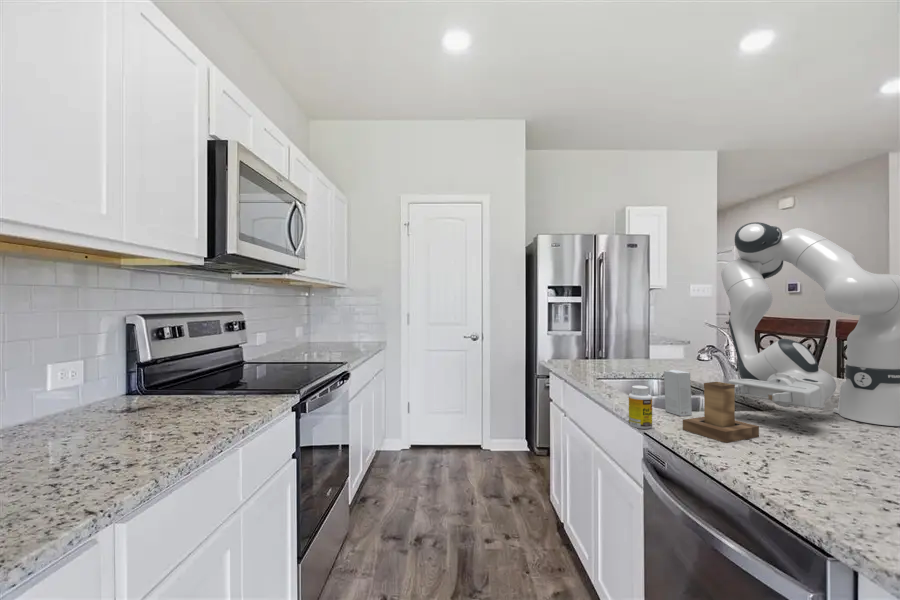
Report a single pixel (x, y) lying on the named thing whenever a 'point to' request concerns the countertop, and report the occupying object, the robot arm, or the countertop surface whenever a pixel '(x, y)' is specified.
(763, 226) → the robot arm
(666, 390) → the skincare box
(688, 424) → the wooden square frame
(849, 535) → the countertop surface
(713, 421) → the peg
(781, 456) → the countertop surface
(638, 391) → the supplement bottle
